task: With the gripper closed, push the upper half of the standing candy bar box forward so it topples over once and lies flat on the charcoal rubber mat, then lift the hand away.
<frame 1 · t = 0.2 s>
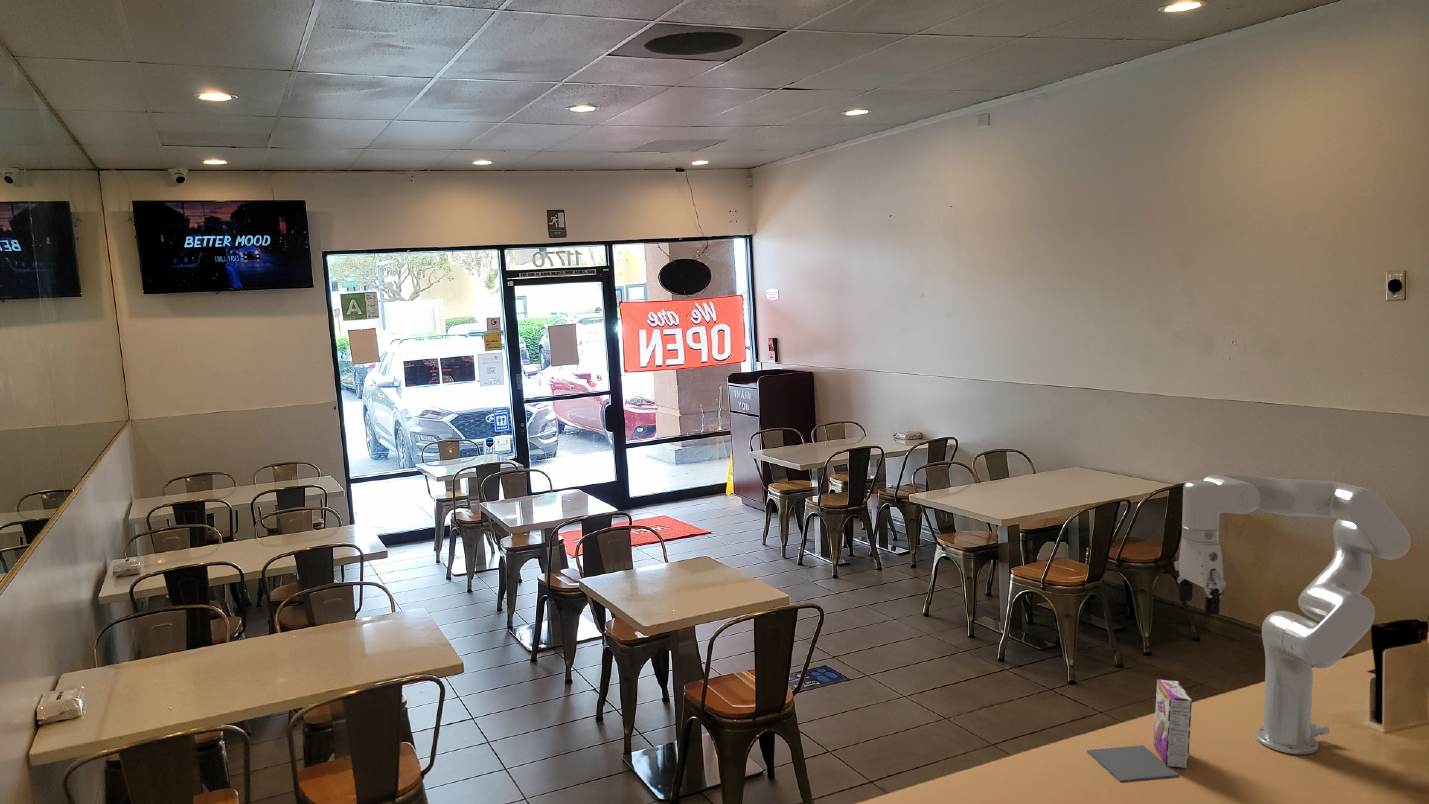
hand: (1198, 606, 211), 35 cm above the counter, tool pointing down, fingers open, 9 cm apart
candy bar box: (1169, 757, 212), on the counter, touching rubber mat
rubber mat: (1131, 763, 210), on the counter
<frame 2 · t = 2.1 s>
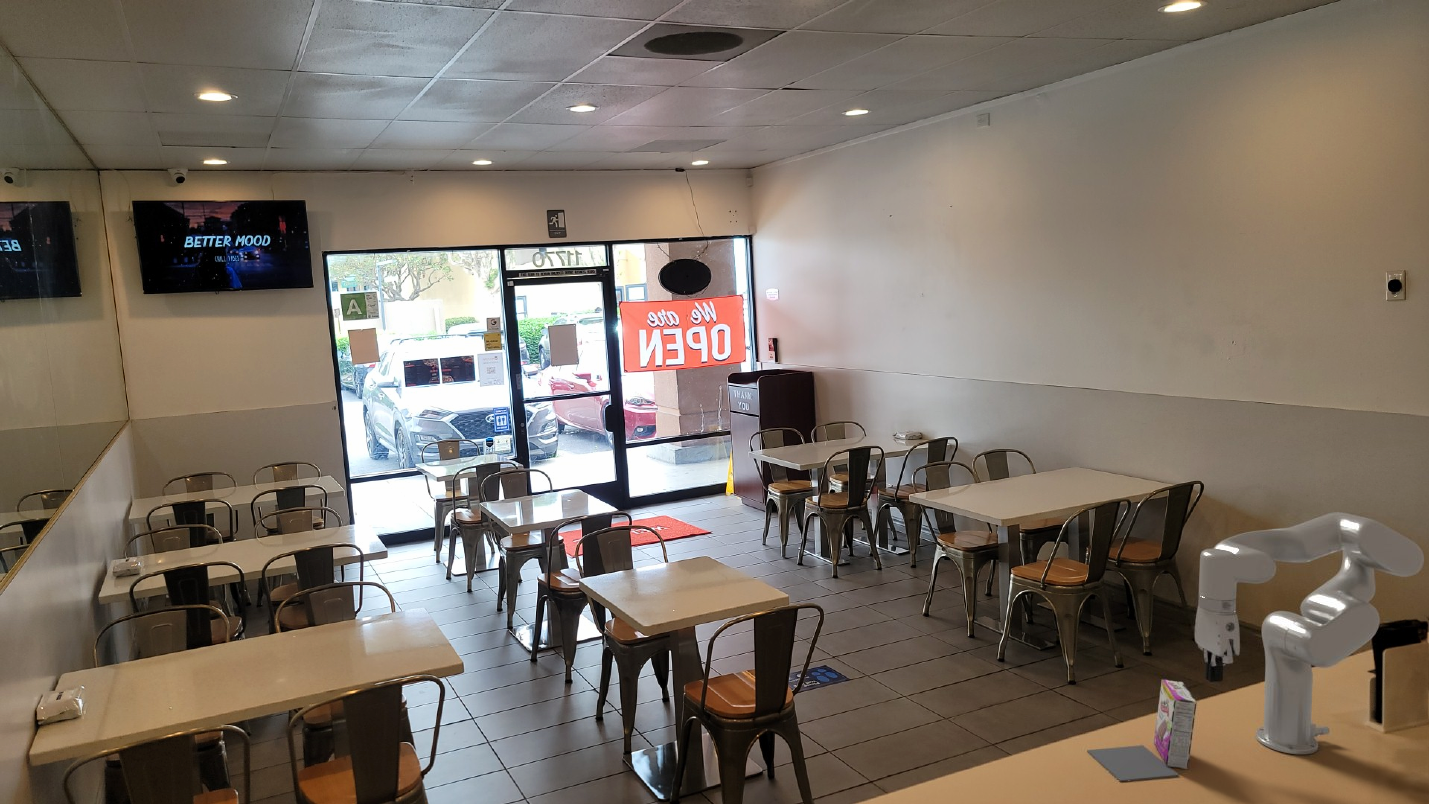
hand: (1213, 680, 212), 18 cm above the counter, tool pointing down, fingers closed
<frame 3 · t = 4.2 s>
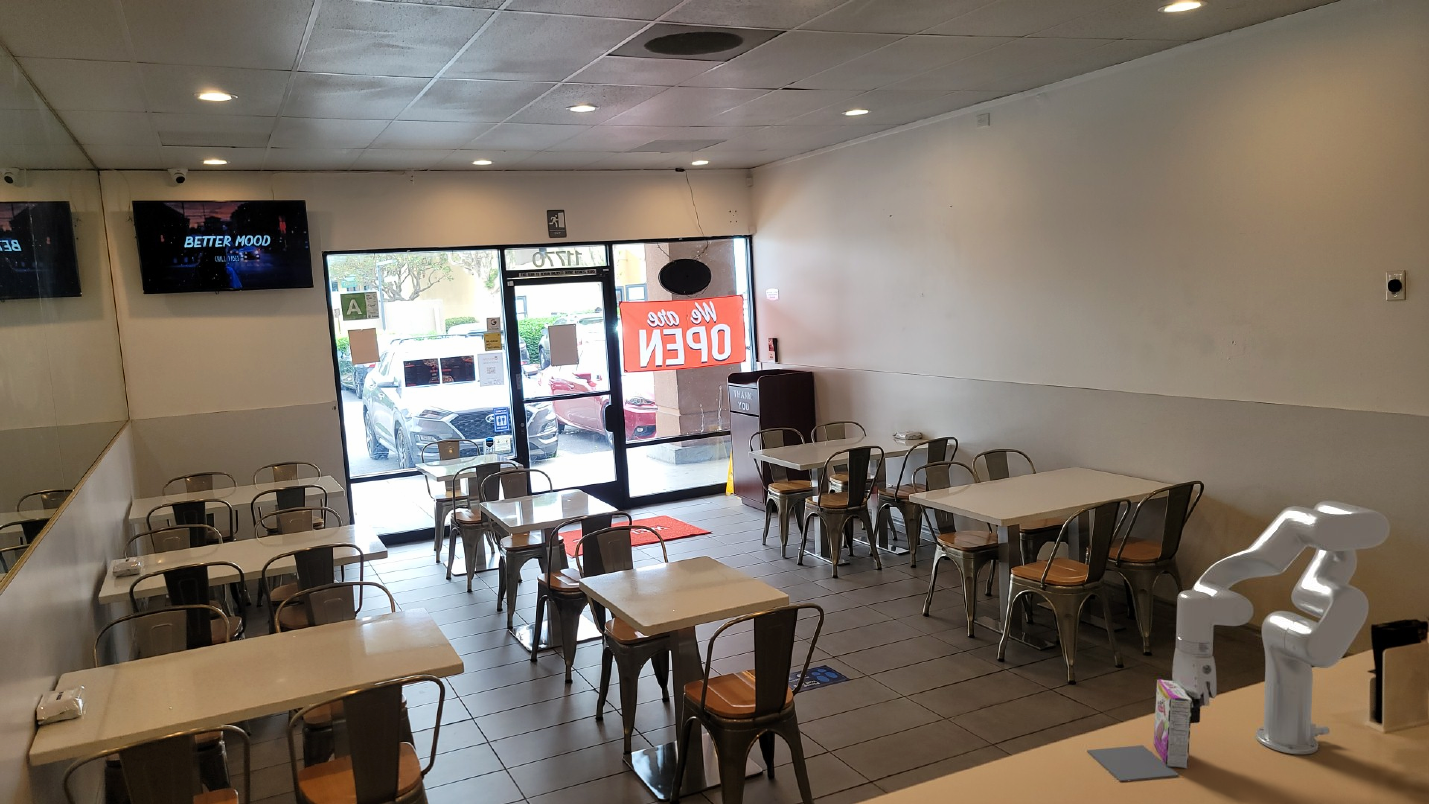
hand: (1191, 721, 212), 8 cm above the counter, tool pointing down, fingers closed
nothing on the counter moved.
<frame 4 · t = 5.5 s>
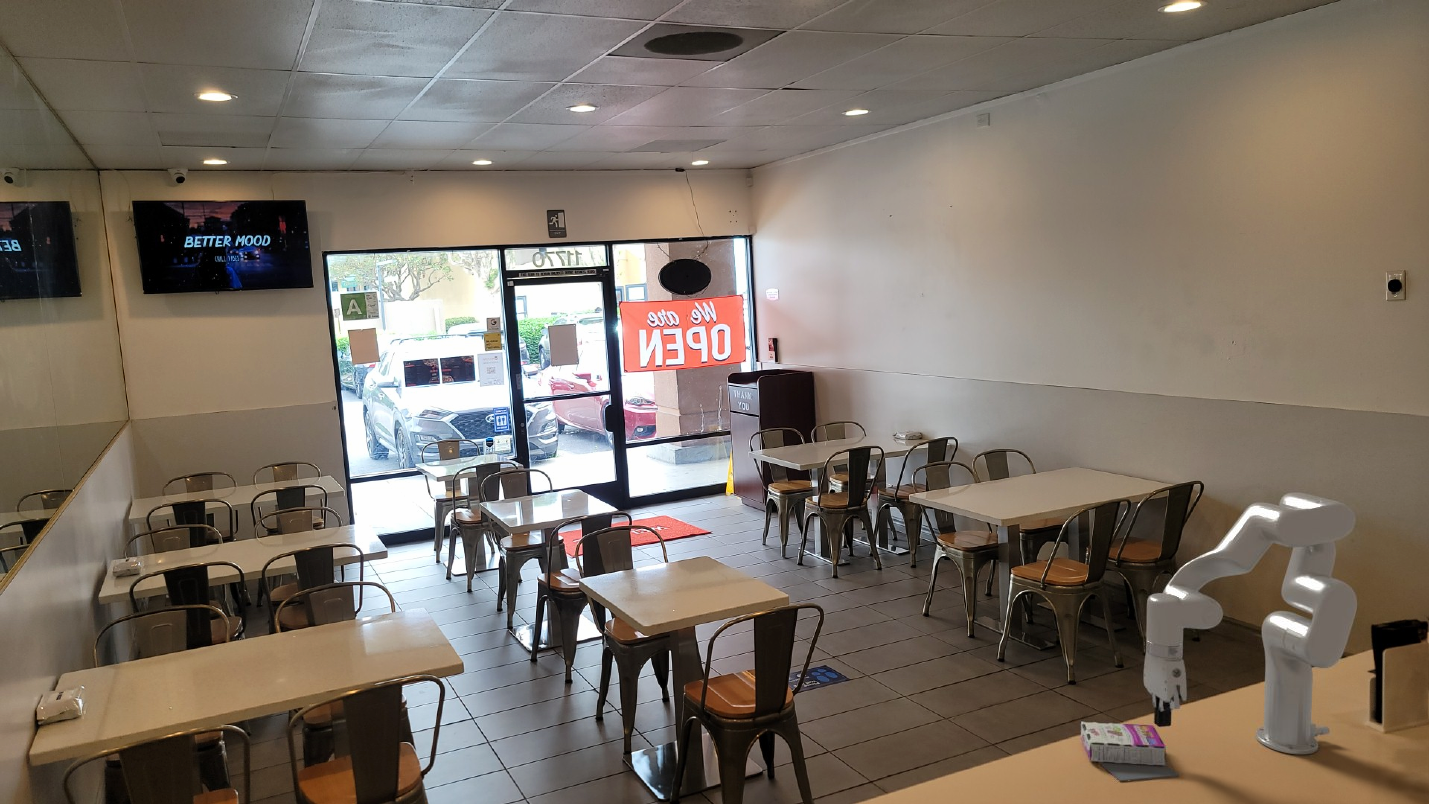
hand: (1162, 724, 211), 8 cm above the counter, tool pointing down, fingers closed
candy bar box: (1160, 746, 212), point 3 cm above the counter, touching rubber mat
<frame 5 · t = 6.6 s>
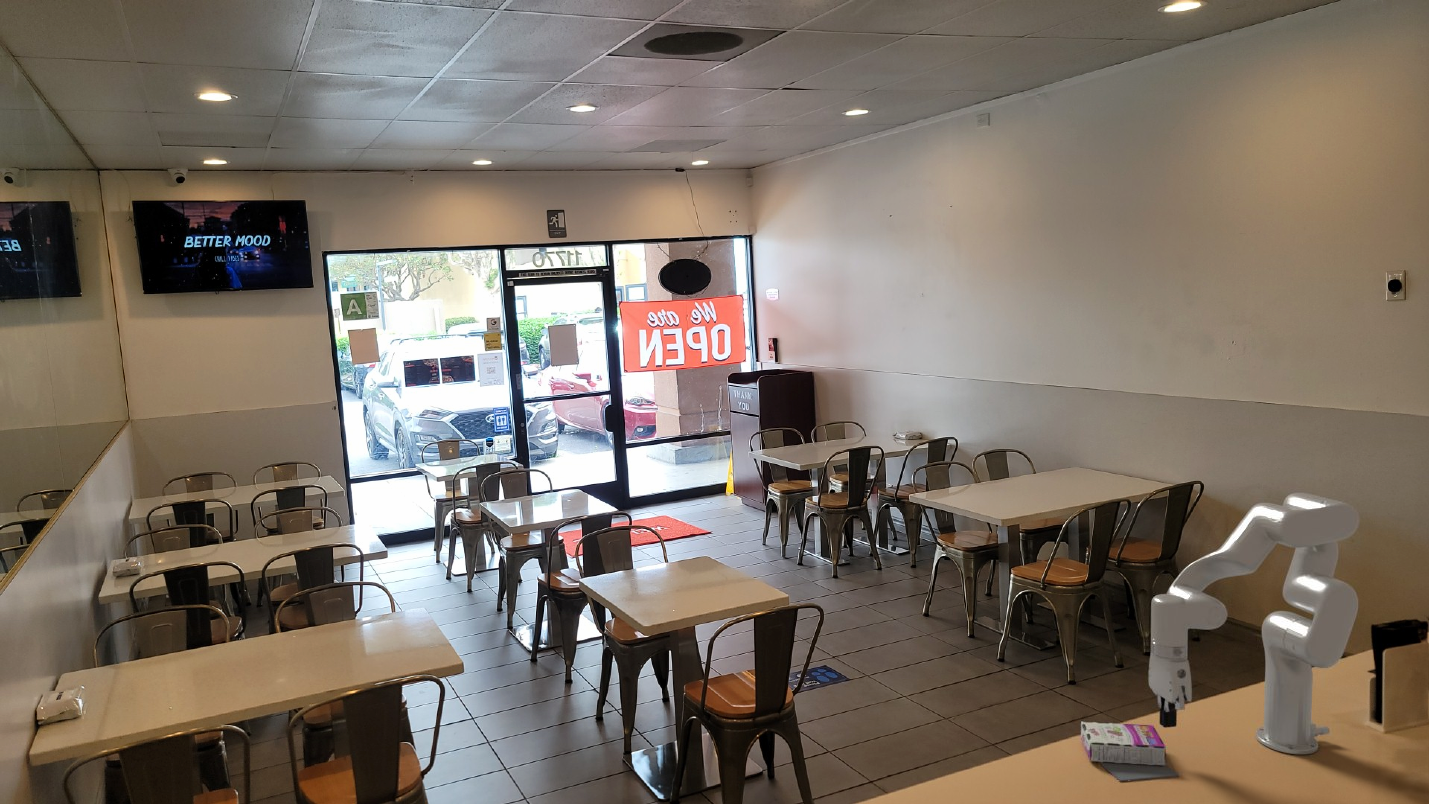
hand: (1167, 725, 211), 8 cm above the counter, tool pointing down, fingers closed
nothing on the counter moved.
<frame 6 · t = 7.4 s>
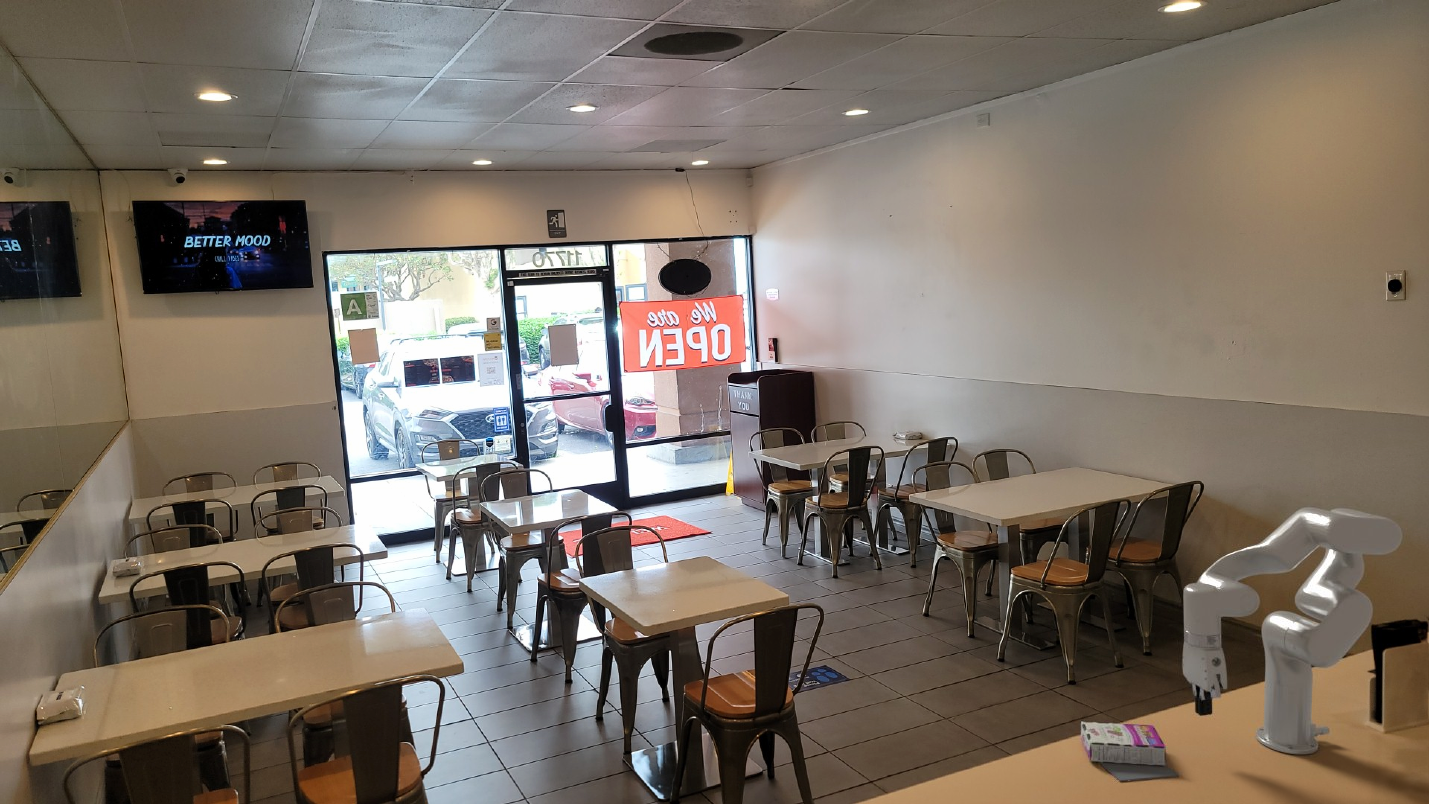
hand: (1203, 713, 212), 10 cm above the counter, tool pointing down, fingers closed
nothing on the counter moved.
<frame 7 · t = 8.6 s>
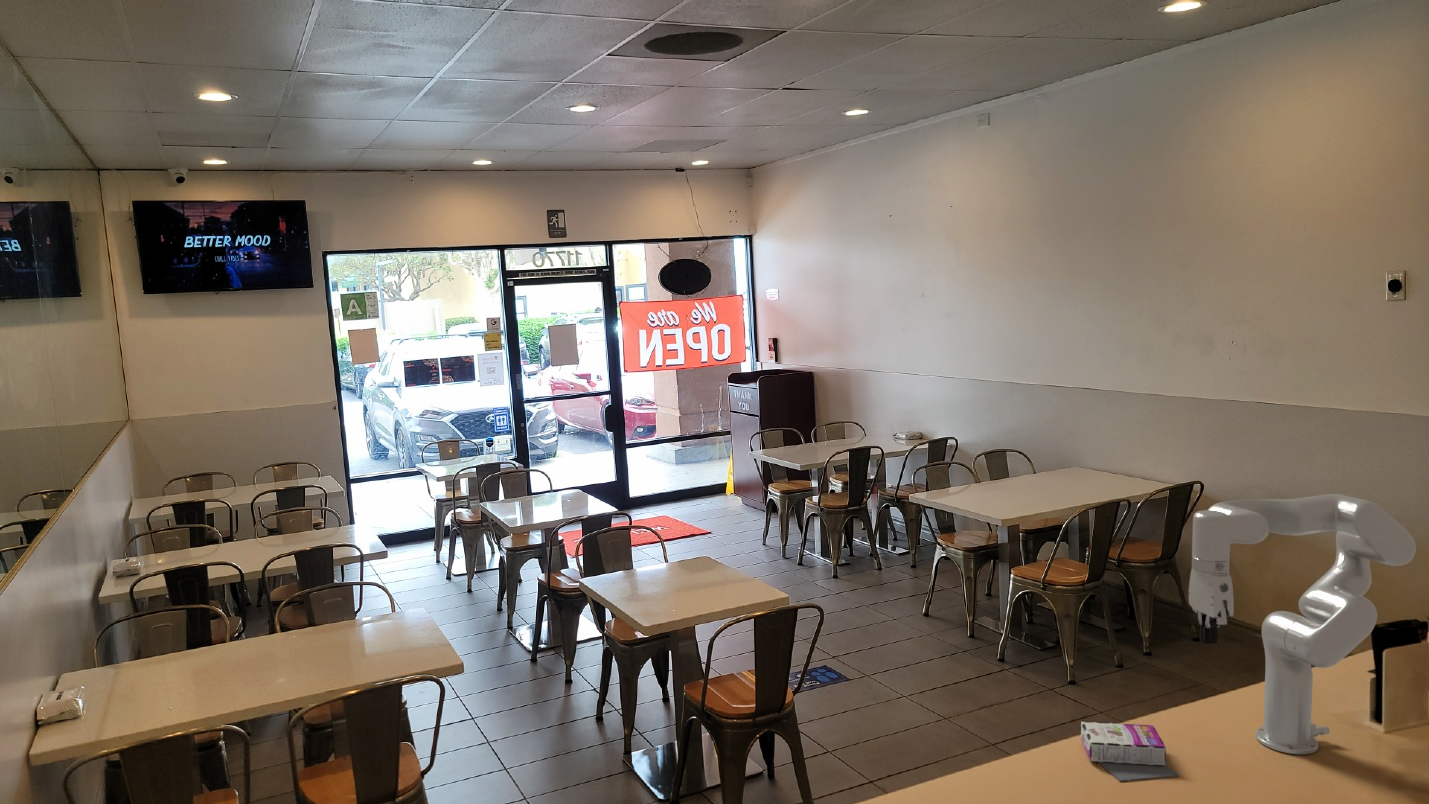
hand: (1208, 642, 210), 27 cm above the counter, tool pointing down, fingers closed
nothing on the counter moved.
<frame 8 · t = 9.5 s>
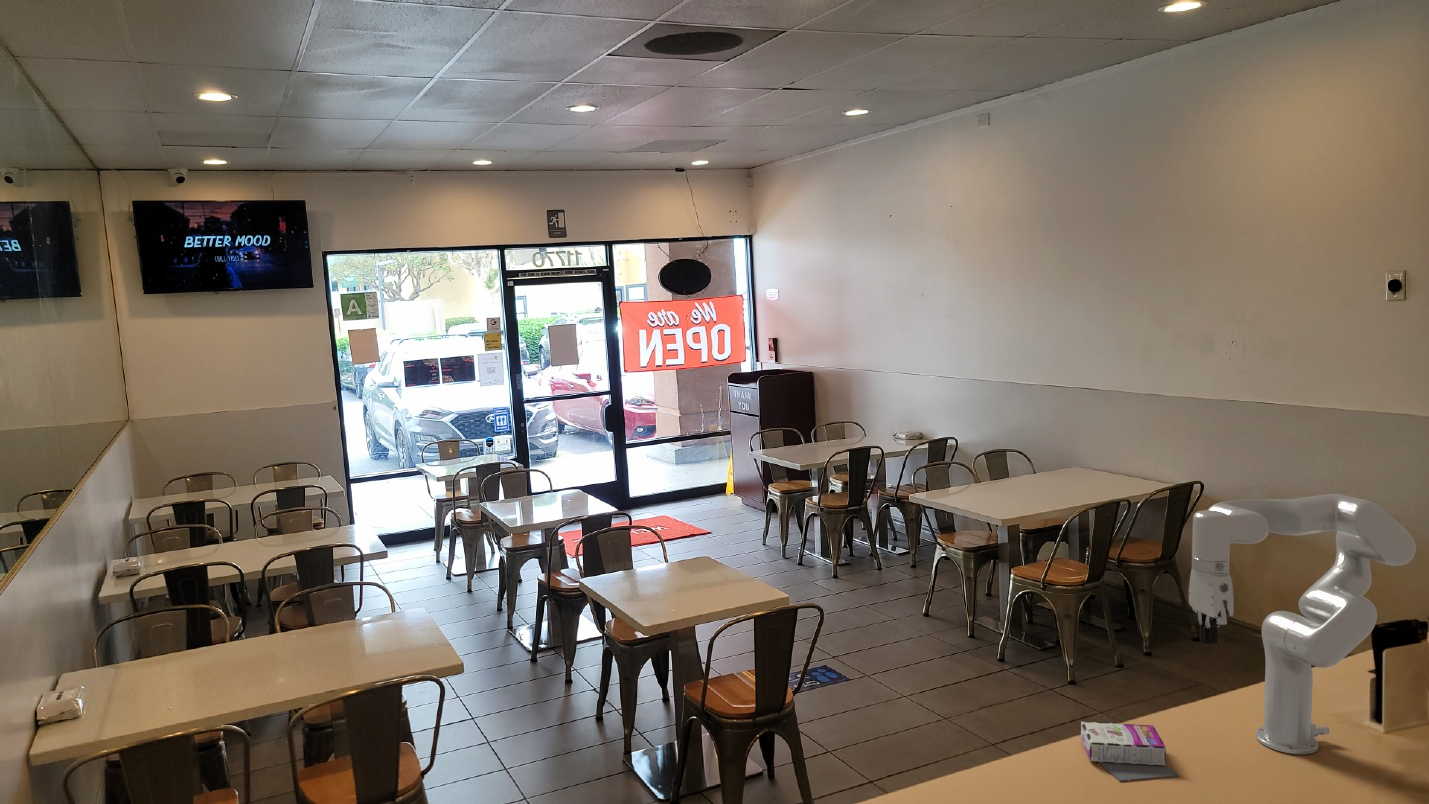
hand: (1208, 642, 210), 27 cm above the counter, tool pointing down, fingers closed
nothing on the counter moved.
at the end: candy bar box tilted 89°; candy bar box touching rubber mat; candy bar box inside the target area (4.0 cm from its centre), point 2.8 cm above the counter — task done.
